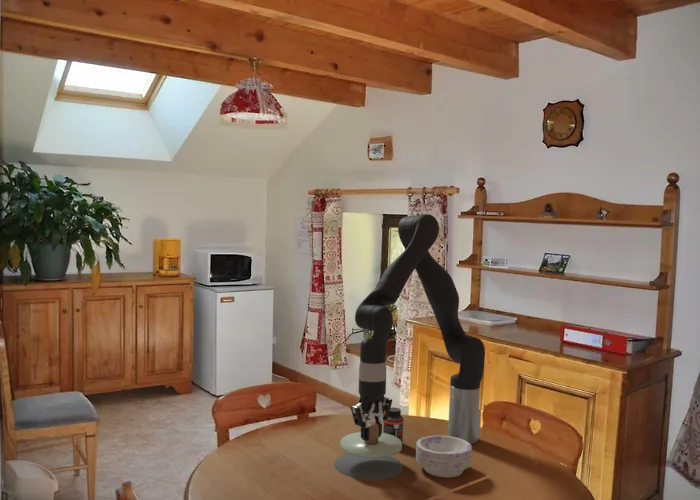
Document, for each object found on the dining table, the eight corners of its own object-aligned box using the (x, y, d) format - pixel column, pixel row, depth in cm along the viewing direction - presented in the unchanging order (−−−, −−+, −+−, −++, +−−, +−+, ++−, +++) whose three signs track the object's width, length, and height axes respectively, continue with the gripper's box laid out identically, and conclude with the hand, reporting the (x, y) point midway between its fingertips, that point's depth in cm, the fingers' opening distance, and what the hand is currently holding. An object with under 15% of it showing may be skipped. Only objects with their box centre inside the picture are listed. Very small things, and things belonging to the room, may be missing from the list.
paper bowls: (431, 456, 182) (432, 430, 181) (480, 470, 173) (481, 442, 173) (404, 473, 170) (406, 444, 169) (455, 488, 161) (457, 458, 160)
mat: (371, 449, 186) (371, 447, 186) (417, 470, 171) (417, 468, 171) (320, 464, 173) (320, 461, 173) (365, 488, 159) (365, 486, 159)
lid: (372, 430, 184) (373, 410, 184) (414, 448, 171) (415, 426, 171) (327, 443, 173) (328, 422, 173) (368, 463, 160) (369, 440, 160)
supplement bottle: (401, 450, 186) (402, 413, 185) (381, 448, 187) (382, 411, 186) (403, 443, 192) (405, 407, 191) (384, 441, 193) (385, 405, 192)
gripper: (381, 370, 178) (380, 428, 179) (343, 378, 169) (342, 440, 170) (400, 375, 173) (399, 436, 174) (362, 384, 163) (360, 448, 164)
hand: (371, 437), depth 172 cm, fingers closed on lid, 4 cm apart
